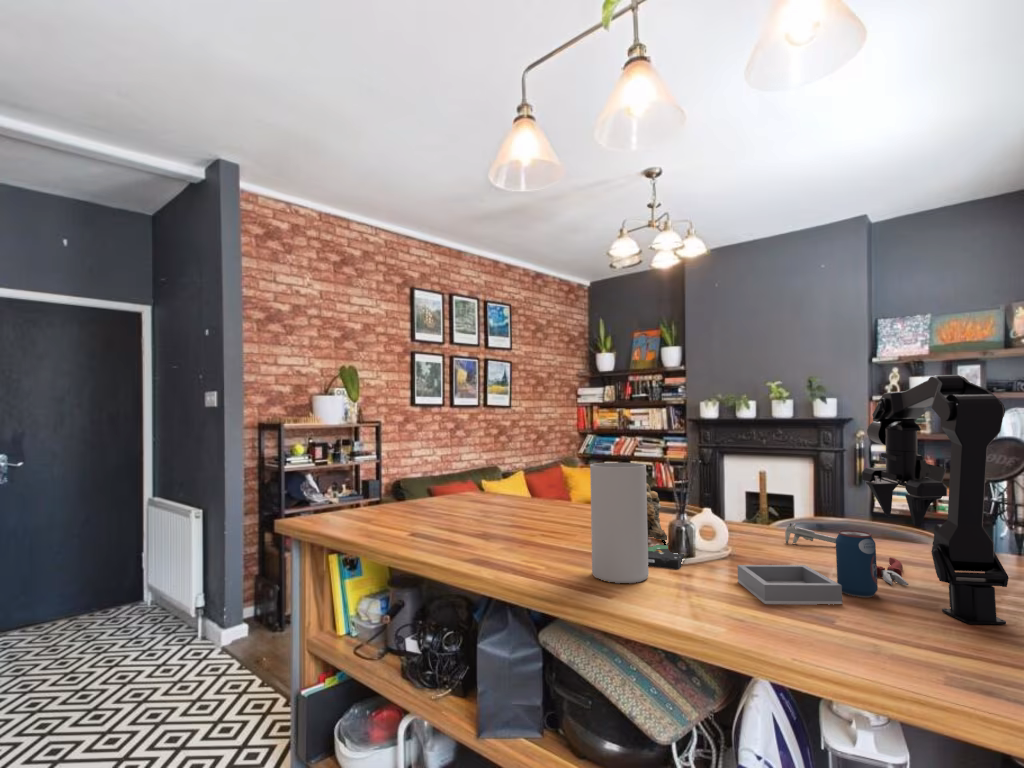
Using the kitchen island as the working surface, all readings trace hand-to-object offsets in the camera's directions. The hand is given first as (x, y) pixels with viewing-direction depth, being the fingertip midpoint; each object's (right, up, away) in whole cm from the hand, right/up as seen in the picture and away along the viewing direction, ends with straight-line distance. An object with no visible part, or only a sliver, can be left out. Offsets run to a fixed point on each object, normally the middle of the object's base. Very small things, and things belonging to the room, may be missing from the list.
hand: (902, 520), depth 122 cm
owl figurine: (-47, -16, +37) cm, 62 cm away
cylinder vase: (-62, -14, +3) cm, 63 cm away
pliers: (-4, -14, +4) cm, 15 cm away
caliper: (+1, -15, +30) cm, 34 cm away
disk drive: (-48, -15, +17) cm, 53 cm away
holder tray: (-30, -12, -10) cm, 34 cm away
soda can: (-16, -12, -10) cm, 23 cm away
